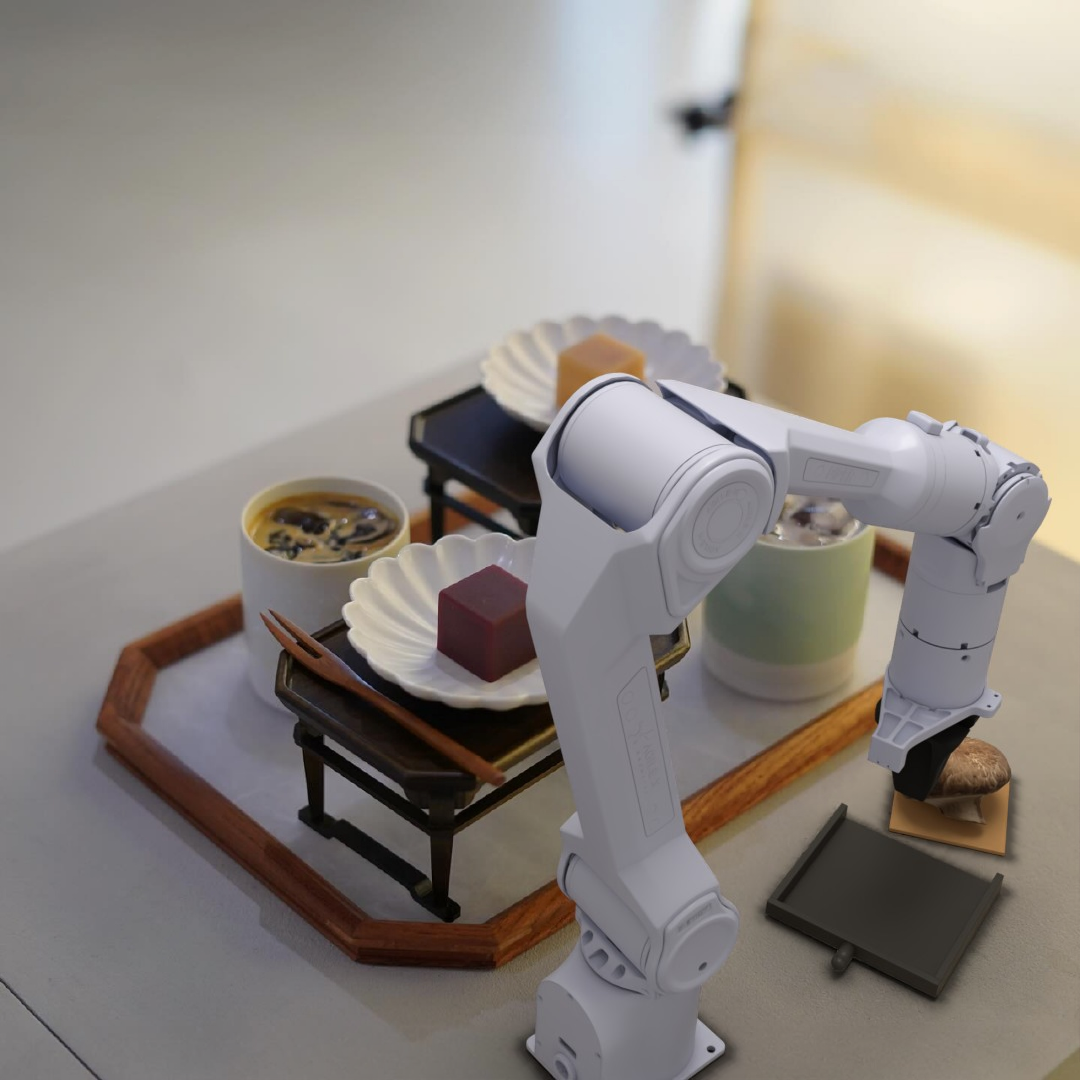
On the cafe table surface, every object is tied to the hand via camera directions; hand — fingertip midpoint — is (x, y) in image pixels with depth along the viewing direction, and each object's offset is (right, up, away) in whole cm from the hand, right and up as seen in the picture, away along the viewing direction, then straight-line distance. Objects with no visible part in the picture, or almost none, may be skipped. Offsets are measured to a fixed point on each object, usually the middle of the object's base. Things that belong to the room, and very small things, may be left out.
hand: (912, 790), depth 98 cm
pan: (-1, -9, +4) cm, 10 cm away
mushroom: (+5, -3, +12) cm, 14 cm away
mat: (+6, -3, +12) cm, 14 cm away
